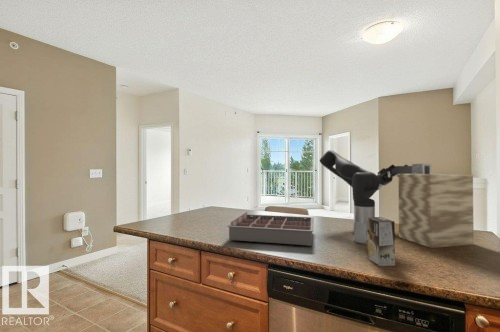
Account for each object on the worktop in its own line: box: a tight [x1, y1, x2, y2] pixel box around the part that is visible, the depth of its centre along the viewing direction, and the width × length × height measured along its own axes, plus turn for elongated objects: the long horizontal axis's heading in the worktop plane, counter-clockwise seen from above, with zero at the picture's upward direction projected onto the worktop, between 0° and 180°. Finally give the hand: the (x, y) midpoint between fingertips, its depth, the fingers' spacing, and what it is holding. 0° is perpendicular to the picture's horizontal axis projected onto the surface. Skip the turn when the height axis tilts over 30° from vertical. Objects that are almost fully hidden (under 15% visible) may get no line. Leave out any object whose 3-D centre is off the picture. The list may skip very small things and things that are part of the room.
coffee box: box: [366, 216, 396, 267], centre depth 95 cm, size 9×6×16 cm
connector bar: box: [392, 163, 432, 174], centre depth 130 cm, size 20×5×5 cm, turn 13°
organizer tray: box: [226, 211, 315, 246], centre depth 131 cm, size 32×40×10 cm
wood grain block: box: [397, 173, 475, 249], centre depth 123 cm, size 18×24×32 cm
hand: (400, 166), depth 135 cm, fingers open, 8 cm apart
